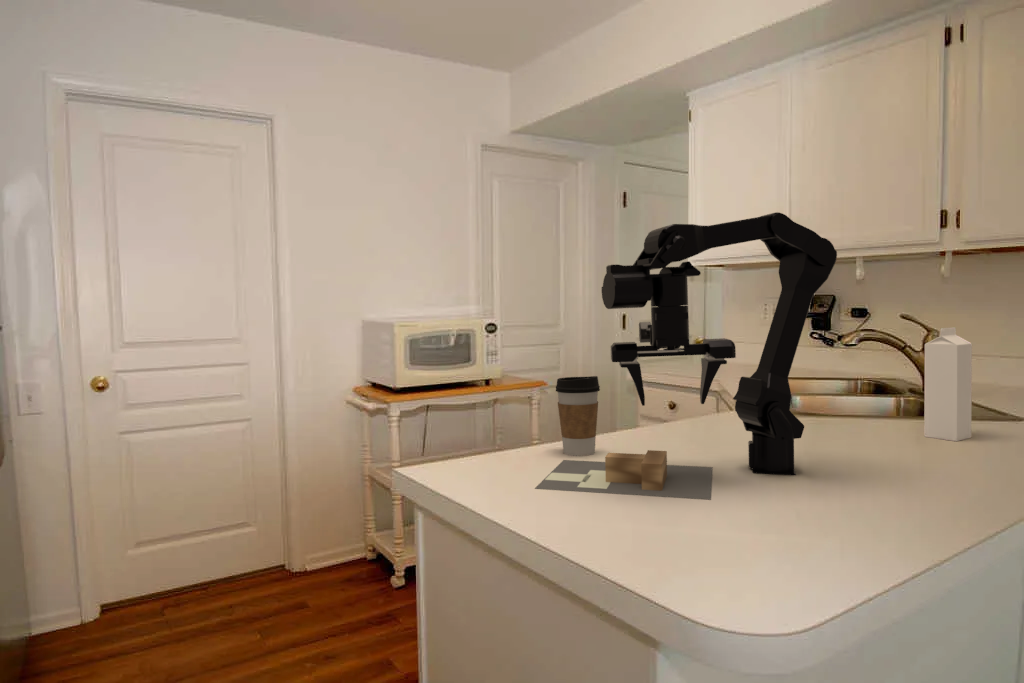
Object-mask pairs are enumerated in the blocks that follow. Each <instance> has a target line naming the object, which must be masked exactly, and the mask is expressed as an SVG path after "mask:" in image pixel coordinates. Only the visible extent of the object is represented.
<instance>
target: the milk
mask: <svg viewBox="0 0 1024 683" xmlns="http://www.w3.org/2000/svg"><path fill="white" fill-rule="evenodd" d="M956 331H957V328H956V327H955V326H953V327H942V328H940V331H939V332H940V335H939V336H937V337H935V338H934V339H932V340H930V341H927V342H926V343H924V394H923V395H924V401H923V402H924V403H923V404H924V409H923V411H924V414H923V416H924V419H923V420H924V422H923V423H924V424H923V425H924V431H923V432H924V435H923V436H924V437H925V438H930V439H938V440H945V441H952V442H959V441H963V440H967V439H970V438H972V396H973V395H972V394H973V392H972V391H973V390H972V385H973V384H972V380H973V379H972V378H973V376H972V375H973V373H972V372H973V366H972V365H973V364H972V362H973V361H972V360H973V344H972V342H970V341H968V340H966V339H965V338H963V337H961V336H959V335H958V334H957V333H956Z"/></svg>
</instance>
